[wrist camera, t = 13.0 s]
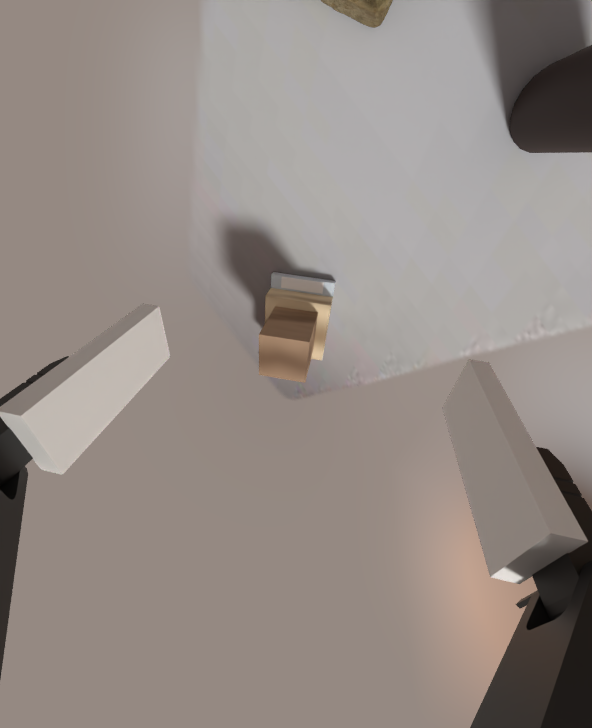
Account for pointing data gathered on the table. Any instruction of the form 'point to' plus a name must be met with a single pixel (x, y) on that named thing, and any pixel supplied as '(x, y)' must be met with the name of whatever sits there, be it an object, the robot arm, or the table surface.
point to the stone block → (362, 10)
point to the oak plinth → (308, 304)
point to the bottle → (556, 108)
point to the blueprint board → (302, 284)
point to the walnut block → (287, 343)
